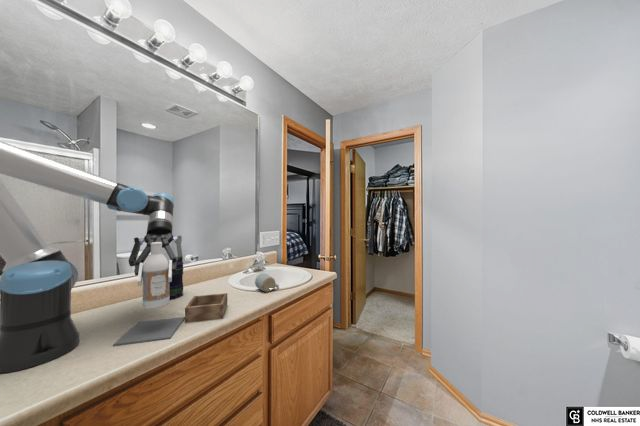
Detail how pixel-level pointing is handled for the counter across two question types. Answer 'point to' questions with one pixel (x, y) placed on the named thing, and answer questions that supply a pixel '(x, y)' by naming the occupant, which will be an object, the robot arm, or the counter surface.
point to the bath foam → (156, 279)
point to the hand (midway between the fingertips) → (155, 281)
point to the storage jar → (177, 282)
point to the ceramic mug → (265, 282)
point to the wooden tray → (206, 308)
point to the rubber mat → (150, 331)
